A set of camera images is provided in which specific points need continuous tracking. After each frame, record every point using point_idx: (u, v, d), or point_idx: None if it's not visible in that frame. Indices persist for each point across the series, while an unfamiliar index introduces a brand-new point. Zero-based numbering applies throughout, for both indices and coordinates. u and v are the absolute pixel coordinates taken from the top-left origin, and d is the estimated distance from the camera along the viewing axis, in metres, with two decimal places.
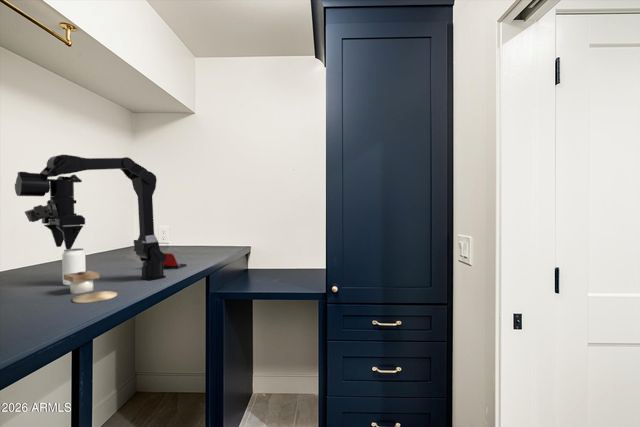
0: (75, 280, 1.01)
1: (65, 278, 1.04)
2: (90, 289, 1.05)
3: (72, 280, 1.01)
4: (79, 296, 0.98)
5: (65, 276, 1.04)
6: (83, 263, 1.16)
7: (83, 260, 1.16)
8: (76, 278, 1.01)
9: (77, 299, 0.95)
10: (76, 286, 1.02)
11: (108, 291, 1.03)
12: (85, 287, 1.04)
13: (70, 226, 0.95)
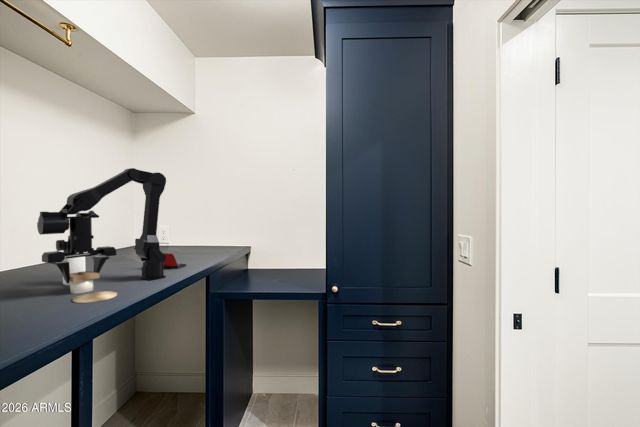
0: (75, 280, 1.01)
1: None
2: (90, 289, 1.05)
3: (72, 280, 1.01)
4: (79, 296, 0.98)
5: None
6: (83, 263, 1.16)
7: (83, 260, 1.16)
8: (76, 278, 1.01)
9: (77, 299, 0.95)
10: (76, 286, 1.02)
11: (108, 291, 1.03)
12: (85, 287, 1.04)
13: (53, 262, 0.99)
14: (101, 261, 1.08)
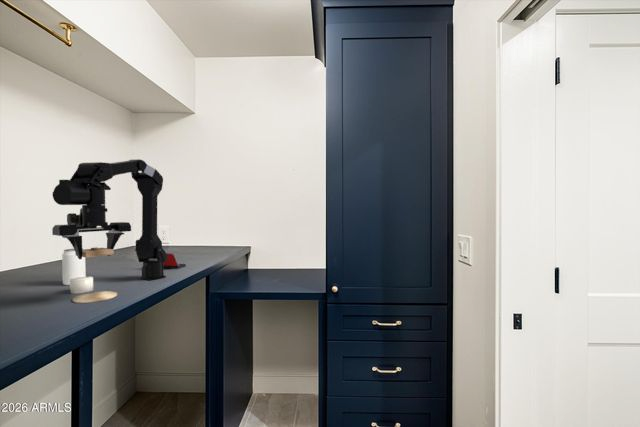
0: (88, 255, 0.93)
1: None
2: (90, 289, 1.05)
3: (85, 255, 0.93)
4: (79, 296, 0.98)
5: None
6: (83, 263, 1.16)
7: (83, 260, 1.16)
8: (89, 253, 0.94)
9: (77, 299, 0.95)
10: (76, 286, 1.02)
11: (108, 291, 1.03)
12: (85, 287, 1.04)
13: (65, 236, 0.92)
14: (115, 237, 1.00)
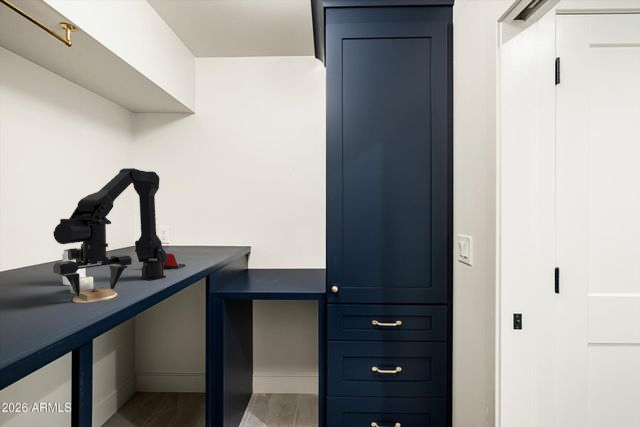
0: (89, 299, 0.94)
1: (78, 296, 0.96)
2: None
3: (86, 299, 0.93)
4: None
5: None
6: None
7: None
8: (90, 296, 0.94)
9: (77, 299, 0.95)
10: None
11: None
12: (85, 287, 1.04)
13: (62, 274, 0.91)
14: (119, 270, 1.01)
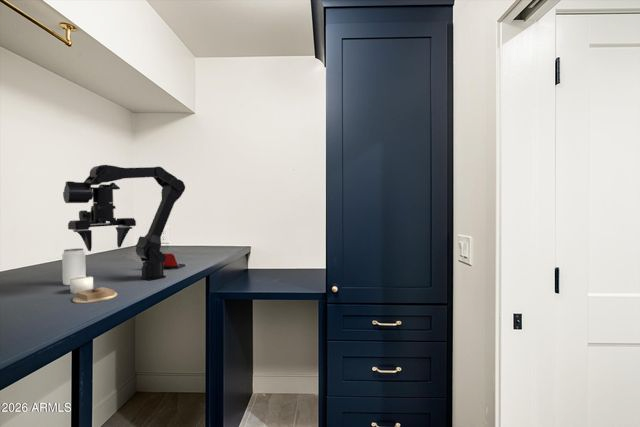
0: (89, 299, 0.94)
1: (78, 296, 0.96)
2: None
3: (86, 299, 0.93)
4: None
5: (78, 294, 0.96)
6: (83, 263, 1.16)
7: (83, 260, 1.16)
8: (90, 296, 0.94)
9: (77, 299, 0.95)
10: (76, 286, 1.02)
11: None
12: (85, 287, 1.04)
13: (76, 230, 1.04)
14: (125, 230, 1.14)
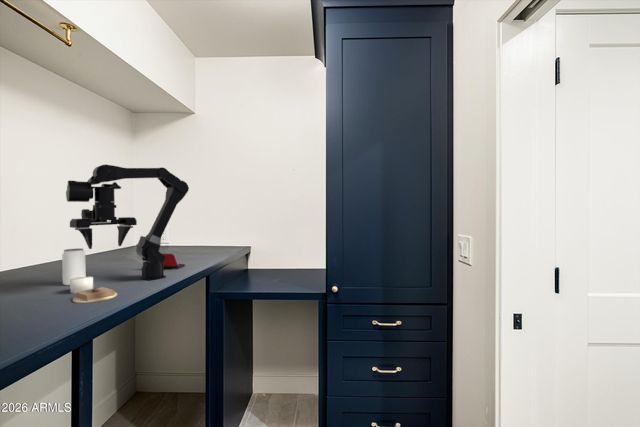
0: (89, 299, 0.94)
1: (78, 296, 0.96)
2: None
3: (86, 299, 0.93)
4: None
5: (78, 294, 0.96)
6: (83, 263, 1.16)
7: (83, 260, 1.16)
8: (90, 296, 0.94)
9: (77, 299, 0.95)
10: (76, 286, 1.02)
11: None
12: (85, 287, 1.04)
13: (77, 228, 1.06)
14: (125, 229, 1.16)
